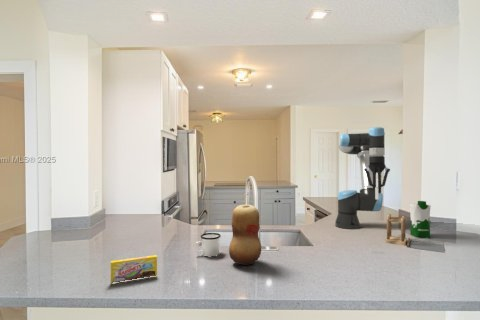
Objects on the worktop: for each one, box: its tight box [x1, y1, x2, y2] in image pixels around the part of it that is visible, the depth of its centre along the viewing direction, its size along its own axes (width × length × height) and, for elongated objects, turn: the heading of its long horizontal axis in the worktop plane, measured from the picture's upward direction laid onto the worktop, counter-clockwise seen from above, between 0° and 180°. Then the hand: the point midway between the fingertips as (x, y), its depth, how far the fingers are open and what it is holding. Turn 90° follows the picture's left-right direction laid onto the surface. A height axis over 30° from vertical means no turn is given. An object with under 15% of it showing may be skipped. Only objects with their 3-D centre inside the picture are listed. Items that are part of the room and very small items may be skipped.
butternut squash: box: [228, 204, 262, 266], centre depth 120 cm, size 14×13×25 cm
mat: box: [409, 239, 446, 254], centre depth 142 cm, size 14×14×1 cm
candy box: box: [110, 254, 158, 284], centre depth 105 cm, size 16×2×8 cm, turn 114°
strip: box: [406, 237, 411, 248], centre depth 146 cm, size 1×14×1 cm, turn 146°
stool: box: [385, 213, 408, 246], centre depth 149 cm, size 9×9×14 cm
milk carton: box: [409, 200, 431, 239], centre depth 160 cm, size 9×9×20 cm
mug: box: [194, 232, 221, 257], centre depth 132 cm, size 12×10×9 cm
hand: (377, 199), depth 154 cm, fingers closed
